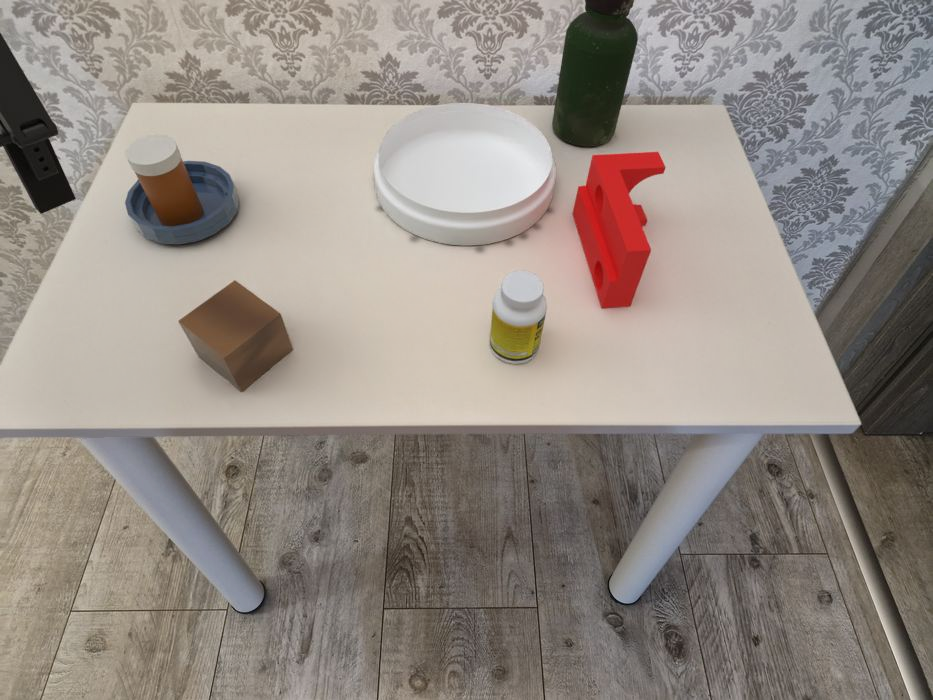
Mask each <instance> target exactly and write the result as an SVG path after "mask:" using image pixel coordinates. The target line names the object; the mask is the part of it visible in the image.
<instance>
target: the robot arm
mask: <svg viewBox="0 0 933 700" xmlns="http://www.w3.org/2000/svg"><path fill="white" fill-rule="evenodd" d="M57 136H59V129H58V126H57V125H56V123H55V122H54V121H53V119H52V118H51V116H50V115H49V113H48V110H46V107H45V106H44V105H43V103H42V101H41V99H40V97H39V96H38V94H37V92H36V90H35V89H34V87H33V86H32V84H31V82H30V81H29V79H28V77H27V75H26V74H25V72H24V70H23V68H22V67H21V66H20V63H19V61H18V59H17V58H16V57H15V55H14V53H13V51H12V50H11V48H10V46H9V44H8V43H7V41H6V40H5V38H4V36H3V34H2V33H1V32H0V148H3V150H4V151H5V154H6V155H7V157H8V159H9V162H11V165H12V167H13V169H14V170H15V172H16V174H17V176H18V178H19V180H20V182H21V183H22V185H23V188H24V190H25V192H26V193H27V196H28V197H29V199H30V201H31V203H32V204H33V207H34V208H35V210H36V211H37V212H39V214H40V215H43V214H45V213H47V212H49V211H51V210H54V209H56V208H58V207H61V206H63V205H65V204H68V203H71V202H72V201H75V200H77V198H76V196H75V193H74V191H73V189H72V187H71V185H70V182H69V180H68V178H67V175H66V173H65V171H64V169H63V167H62V164H61V163H60V161H59V157H58V156H57V154H56V151H55V148H54V146H53V144H52V142H51V140H50V139H51V138H53V137H57Z"/></svg>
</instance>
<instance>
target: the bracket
mask: <svg viewBox="0 0 933 700" xmlns="http://www.w3.org/2000/svg"><path fill="white" fill-rule="evenodd" d="M666 169H667V167H666V165H665V163H664V160H663V158H662V156H661V154H660V152H659V151H644V152H626V153H625V152H624V153H608V154H605V153H604V154H592V156H591V159H590V165H589V169H588V173H587V176H586V177H587V178H586V182H585V185H578V186H577V191H576V196H575V201H574V206H573V210H572V217H573V221H574V224H575V227H576V230H577V234H578V237H579V239H580V243H581V246H582V250H583V253H584V256H585V259H586V260H585V261H586V262H587V266H588V269H589V272H590V276H591V279H592V282H593V286H594V288H595V292H596V295H597V299H598V302H599V305H600V308H601V309H610V308H611V309H612V308H613V309H614V308H625V307H631V306H632V303H633V301H634V297H635V295H636V292H637V289H638V287H639V285H640V281H641V279H642V277H643V273H644V271H645V267H646V265H647V262H648V260H649V257H650V254H651V252H652V249H651V246H650V244H649V241H648V238H647V236H646V233H645V230H644V228H643V226H646V225H647V222H648V218H647V216H646V213H645V211H644V209H643V205H642V204H636V203H635V204H634V203H633V200H632V198H631V195H630V193H631V191H632V190H633V189H634V188H635V187H637V185H638V184H640V183H642V182H643V181H644V180H646V179H649V178H651V177H653V176H658V175H663V174H664V173H665V171H666Z"/></svg>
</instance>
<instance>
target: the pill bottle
mask: <svg viewBox="0 0 933 700" xmlns="http://www.w3.org/2000/svg"><path fill="white" fill-rule="evenodd" d="M544 287H545V286H544V282H543V281H542V279H541V278H540V277H539V276H538V275H536V274H535V273H533V272H531V271H528V270H515V271H512V272H509V273H508V274H506V275H505V276H504V278H503V279H502V281H501V284H500V288H499V289H498V290H497V291H496V293H495V295H494V296H493V300H492V308H491V319H490V329H489V348H490V350H491V352H492V353H493V355H494V356H495V357H496V358H497V359H499V360H500V361H502V362H505V363H507V364H513V365H519V364H525V363H527V362H530V360H532V359H533V358H534V357H536V355H537V353H538V351H539V349H540V346H541V345H540V344H541V340H542V334H543V330H544V324H545V321H546V314H547V310H548V303H547V299H546V297H545V295H544V292H545V291H544V289H545V288H544Z"/></svg>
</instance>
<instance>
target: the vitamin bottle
mask: <svg viewBox="0 0 933 700" xmlns="http://www.w3.org/2000/svg"><path fill="white" fill-rule="evenodd" d="M124 154H125V158H126V160H127V161H128V164H129V165H130V167H131V170H132V171H133V172H134V173H135V176H136V178H137V180H138V179H139V181H140V183H141V185H142V187H143V189H144V191H145V193H146V195H147V197H148V199H149V201H150V203H151V205H152V207H153V209H154V211H155V213H156V215H157V217H158V219H159V221H160V222H161V224H162V225H163V226H178V225H184V224H190V223H193V222H195V221H197V220H200V219H201V217H202V215H203V208H202V205H201V203H200V200H199V198H198V196H197V193H196V191H195V189H194V186H193V184H192V182H191V179H190V177H189V175H188V172H187V170H186V168H185V165H184V163H183V161H184V160H183V158H182V154H181V151H180V149H179V147H178V144H177V142H176V140H175V139H174V138H172V137H171V136H168V135H166V134H161V133H159V134H158V133H156V134H148V135H144V136H141V137H139V138H137V139H135V140H133V141H132V142H131V143H129V144H128V146H127V147H126V149H125V153H124Z"/></svg>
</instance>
